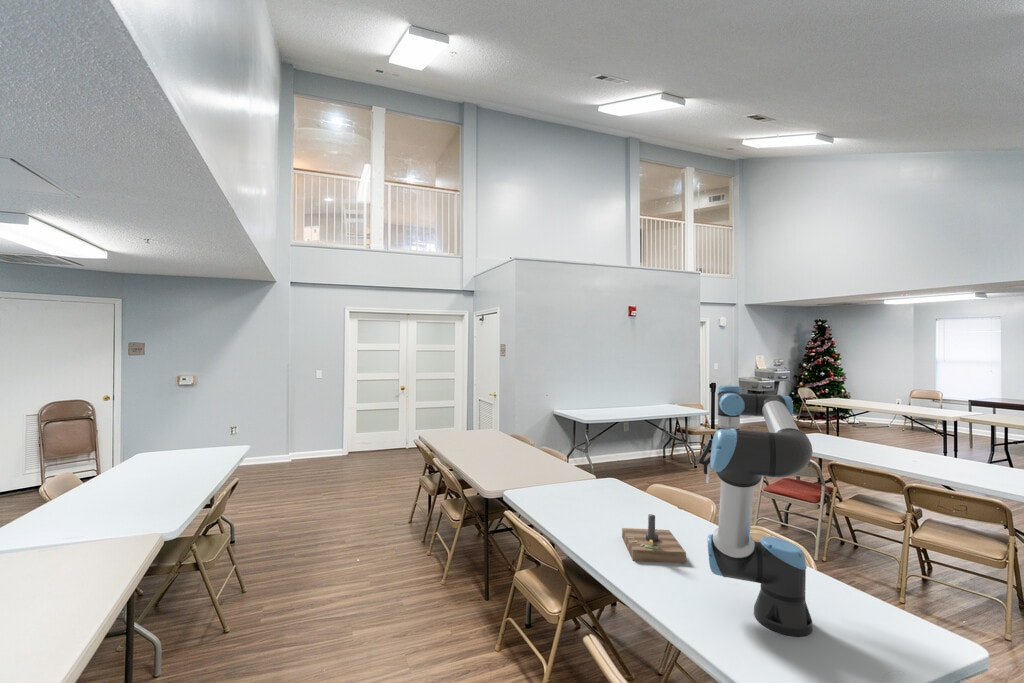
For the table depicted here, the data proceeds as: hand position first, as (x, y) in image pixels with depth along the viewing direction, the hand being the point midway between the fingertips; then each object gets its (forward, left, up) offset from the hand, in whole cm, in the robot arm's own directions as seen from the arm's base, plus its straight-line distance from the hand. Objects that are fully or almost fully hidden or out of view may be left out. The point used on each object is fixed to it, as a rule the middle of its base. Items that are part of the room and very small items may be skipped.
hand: (727, 485), depth 168 cm
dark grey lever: (+14, +24, -28) cm, 39 cm away
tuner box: (+17, +23, -32) cm, 43 cm away
